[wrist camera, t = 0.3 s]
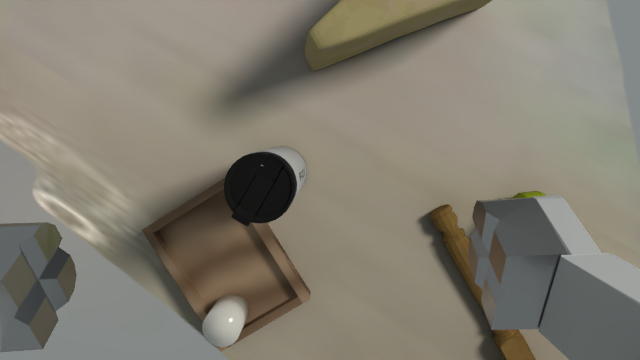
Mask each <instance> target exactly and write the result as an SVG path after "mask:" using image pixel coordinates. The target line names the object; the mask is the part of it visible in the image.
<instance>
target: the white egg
mask: <svg viewBox="0 0 640 360" xmlns="http://www.w3.org/2000/svg"><path fill="white" fill-rule="evenodd" d="M248 315H249V306H248V303H247V301H246V300H245V299H244V298H243V297H242V296H240V295H238V294H235V293H228V294H224V295H223V296H221V297H220V298H219V299H218V300H217V302H216V303H215V305H214V306H213V307H212V309H211V310H210V312H209V313H208V315H207V316H206V318H205V319H204V321H203V325H202V331H203V335H204V337H205V338H206V340H207V341H208V342H209V343H211V344H212V345H214V346H217V347H226V346H229V345H231V344H233V343H234V342H235V341H236V340H237V339H238V337H239V335H240V332H241V330H242V328H243V326H244V324H245V322H246V320H247V317H248Z"/></svg>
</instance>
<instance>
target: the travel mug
mask: <svg viewBox="0 0 640 360" xmlns="http://www.w3.org/2000/svg"><path fill="white" fill-rule="evenodd" d="M306 176H307V167H306V163H305V161H304V159H303V157H302V156H301V155H300V154H299V153H298V152H297V151H295V150H294V149H292V148H289V147H281V146H280V147H274V148H270V149H266V150H261V151H257V152H253V153H251V154H248V155H245V156H243V157H242V158H240V159H238V160H237V161H236V162H235V163H234V164H233V165H232V166H231V168H230V169H229V171H228V173H227V175H226V178H225V182H224V194H225V199H226V201H227V204H228V205H229V207H230V209H231V210H232V211H233V214H232V216H231V217H232V218H233V219H235V220H236V221H238V222H240V223H241V224H243V225H245V226H249V224H250V222H251V223H267V222H271V221H273V220H276V219H277V218H279V217H280V216H282V215H283V214H284V213H285V212H286V211H287V209H288V208H289V207H290V206H291V204H292V203H293V201H294V200H295V198H296V196H297V194H298V193H299V191H300V189H301V188H302V186H303V184H304V182H305V180H306Z"/></svg>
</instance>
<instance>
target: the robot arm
mask: <svg viewBox="0 0 640 360" xmlns="http://www.w3.org/2000/svg"><path fill="white" fill-rule="evenodd" d="M473 220H474V223H475V225H476V228H477V229H476V230H475V231H474V232H473V233H472V234H471V235H470V239H469V248H468V251H469V265H470V269H471V274H472V277H473V280H474V283H475V284H477V285H478V286H479V287H481V288H482V289H483V292H482V298H481V303H482V305H483V308H484V311H485V314H486V317H487V319H488V322H489V325H490V328H491V330H509V329H539V332H540V333H541V334H542V335H543V336H544V337H545V338H547V339H548V340H549V341H550V342H551V343H552V344H553V345H554V346H555V347H556V348H558V349H559V350H560V351H561V352H562V353H563V354H564V355H565V356H566V357H567V358H568V359H570V360H640V269H639V268H637V267H635V266H633V265H631V264H630V263H628V262H626V261H624V260H622V259H621V258H619V257H617V256H615V255H613V254H611V253H601V251H600V250H599V248H598V247H597V246H596V244H595V243H594V241H593V240H592V238H591V237H590V235H589V234H588V233H587V231H586V230H585V228H584V227H583V225H582V224H581V222H580V221H579V220H578V218H577V217H576V215H575V214H574V212H573V211H572V209H571V208H570V207H569V205H568V204H567V202H566V201H565V199H564V198H563V197H561V196H560V195H547V196H534V197H530V198H514V199H497V200H479V201H477V202H476V204H475V206H474V211H473ZM61 240H62V237H61V236H60V234H59V232H58V230H57V228H56V226H55V225H53V224H50V223H13V224H0V352H9V351H23V350H36V349H43V348H44V346H45V344H46V342H47V341H48V339H49V337H50V335H51V333H52V331H53V329H54V328H55V326H56V324H57V322H58V317H57V314H56V310H58V309H59V308H61V307H62V306H63V305H65V304H66V303H67V302H68V301H69V299H70V297H71V295H72V293H73V291H74V288H75V281H76V271H75V265H74V262H73V260H72V258H71V256H70V255H69V254H68V253H66V252H65V251H64V250H62V249H61V248H59V244H60V242H61Z"/></svg>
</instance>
